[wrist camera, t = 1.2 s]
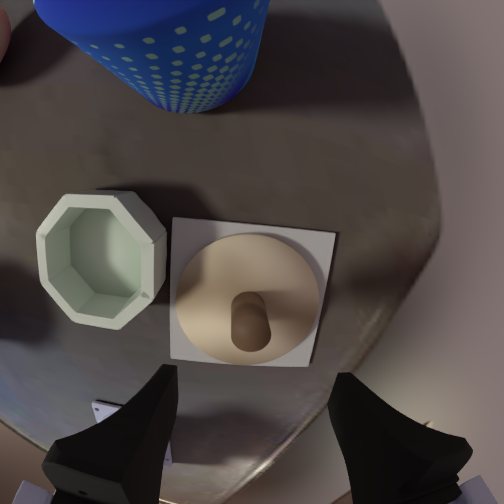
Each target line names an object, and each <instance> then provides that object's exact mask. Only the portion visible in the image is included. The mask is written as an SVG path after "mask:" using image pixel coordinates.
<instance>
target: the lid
mask: <svg viewBox="0 0 504 504" xmlns="http://www.w3.org/2000/svg"><path fill="white" fill-rule="evenodd" d="M175 302H176V312H177V317H178V320H179V322H180V325H181V327H182V329H183V331H184V333H185V334H186V335H187V337H188V338H189V340H190V341H191V342H192V343H193V344H194V345H195V346H196V347H197V348H199V349H200V350H201V351H202V352H204V353H205V354H207V355H209V356H211V357H213V358H215V359H217V360H220V361H223V362H226V363H231V364H237V365H255V364H261V363H266V362H269V361H272V360H275V359H277V358H279V357H282V356H284V355H285V354H287V353H288V352H290V351H291V350H293V349H294V348H295V347H296V346H298V345H299V344H300V343H301V342H302V341H303V339H304V338H305V337H306V336H307V334H308V333H309V331H310V330H311V328H312V326H313V324H314V321H315V319H316V316H317V312H318V306H319V291H318V285H317V282H316V278H315V276H314V274H313V272H312V270H311V268H310V267H309V265H308V264H307V262H306V261H305V259H304V258H303V257H302V256H301V255H300V254H299V253H298V252H297V251H296V250H295V249H294V248H293V247H291V246H290V245H288V244H287V243H285V242H283V241H281V240H279V239H277V238H275V237H272V236H268V235H265V234H259V233H237V234H232V235H228V236H224V237H222V238H219V239H216V240H215V241H213V242H211V243H209V244H207V245H206V246H205V247H203V248H202V249H200V250H199V251H198V252H197V253H196V254H195V255H194V256H193V257H192V259H191V260H190V261H189V262H188V264H187V266H186V267H185V269H184V271H183V273H182V275H181V277H180V280H179V282H178V286H177V290H176V299H175Z"/></svg>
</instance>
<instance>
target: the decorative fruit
mask: <svg viewBox="0 0 504 504" xmlns="http://www.w3.org/2000/svg"><path fill="white" fill-rule="evenodd" d="M10 37H11V26H10V21H9V18H8V15H7V13H6V12H5V10H4V9H3V8H2V7H1V6H0V63H1V61H2V59H3V57H4V55H5V53H6V51H7V48H8V45H9V42H10Z"/></svg>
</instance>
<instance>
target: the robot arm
mask: <svg viewBox="0 0 504 504" xmlns="http://www.w3.org/2000/svg"><path fill="white" fill-rule="evenodd" d="M177 405H178V378H177V366H175V365H167V364H163V365H161V366H160V368H159V369H158V370H157V372H156V373H155V374H154V375H153V376H152V378H151V379H150V380H149V381H148V382H147V383H146V384H145V385H144V386H143V388H142V389H141V390H140V391H139V392H138V393H137V394H136V395H135V396H133V397H132V398H131V399H130V400H129V401H128V402H127V403H126V404H125V405H123V406H122V407H121V406H117V405H112V404H108V403H103V402H99V401H93V402H92V407H93V411H94V414H95V417H96V420H97V424H96V425H94V426H92V427H90V428H88V429H85V430H83V431H81V432H79V433H76V434H74V435H71V436H68V437H65V438H62V439H59V440H55V442H54V444H53V445H52V446H51V448H50V449H49V451H48V453H47V455H46V457H45V459H44V461H43V463H42V469H43V471H44V473H45V475H46V476H47V478H48V479H49V480H50V482H51V483H52V484H53V486H54V487H55V488H56V490H55V493H54V495H53V494H51V493H50V492H48V491H47V490H45V489H43V488H40V487H38V486H36V485H34V484H32V483H30V482H28V481H26V480H23V481H22V483H21V486H20V488H19V490H18V492H17V494H16V496H15V498H14V500H13V503H12V504H159V495H160V486H161V478H162V470H163V465H165V466H171V465H172V456H171V448H170V436H171V433H172V429H173V425H174V422H175V418H176V412H177ZM327 405H328V410H329V415H330V419H331V423H332V426H333V429H334V432H335V435H336V437H337V440H338V443H339V446H340V448H341V451H342V454H343V456H344V460H345V463H346V467H347V471H348V476H349V481H350V486H351V492H352V500H353V504H498V503H497V501H496V500H495V498H494V496H493V495H492V493H491V491H490V490H489V488H488V487H487V485H486V483H485V482H484V480H483V479H482V477H481V476H480V475H478V476H476V477H474V478H472V479H470V480H468V481H466V482H465V483H463V484H462V485H460V486H458V484H457V483H456V482H458V480H459V477H458V476H457V473H458V472H459V471H460V470H461V469H462V468H463V467H464V465H465V464H466V463H467V462H468V460H469V459H470V457H471V456H472V453H473V449H472V448H471V446H470V445H469V444H468V442H467V441H466V439H465V438H462V437H458V436H454V435H449V434H446V433H443V432H440V431H437V430H434V429H431V428H429V427H427V426H424V425H422V424H420V423H418V422H416V421H414V420H412V419H410V418H408V417H407V416H405V415H403V414H402V413H400V412H399V411H397V410H396V409H394V408H393V407H391V406H390V405H388V404H387V403H386V402H385V401H383V400H382V399H381V398H380V397H378V396H377V395H376V394H375V393H374V392H372V391H371V390H370V389H369V388H368V387H367V386H365V385H364V384H363V383H362V382H361V381H359V379H357V378H356V377H355V376H354V375H353V374H351V373H350V372H346V373H338V374H337V377H336V380H335V383H334V386H333V389H332V392H331V395H330V398H329V401H328V404H327Z"/></svg>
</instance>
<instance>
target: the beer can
mask: <svg viewBox="0 0 504 504" xmlns="http://www.w3.org/2000/svg"><path fill="white" fill-rule="evenodd" d="M33 2H34V6H35V9H36V11H37V13H38V15H39V17H40V18H41V19H42V20H43V21H44V22H45V23H46V24H47V25H48V26H49V27H50V28H52V29H53V30H55V31H56V32H57V33H59V34H60V35H62V36H63V37H65V38H66V39H67V40H69V41H70V42H72V43H73V44H74V45H76V46H77V47H79V48H80V49H81V50H83V51H84V52H85V53H87V54H88V55H90V56H91V57H92V58H94V59H95V60H96V61H98V62H99V63H100V64H102V65H103V66H104V67H106V68H107V69H108V70H110V71H111V72H112V73H114V74H115V75H116V76H117V77H119V78H120V79H121V80H123V81H124V82H125V83H127V84H128V85H129V86H130V87H132V88H133V89H134V90H135V91H137V92H138V93H139V94H141V95H142V96H143V97H144V98H146V99H147V100H148V101H149V102H151V103H152V104H154V105H155V106H157V107H159V108H162V109H164V110H167V111H171V112H176V113H197V112H203V111H207V110H210V109H213V108H216V107H218V106H220V105H222V104H224V103H226V102H227V101H229V100H230V99H232V98H233V97H234V96H236V95H237V94H238V93H239V92H240V91H241V90H242V89H243V88H244V86H245V85H246V84H247V82H248V81H249V79H250V77H251V75H252V73H253V71H254V68H255V64H256V59H257V54H258V50H259V45H260V41H261V36H262V32H263V27H264V23H265V19H266V14H267V10H268V6H269V2H270V0H33Z"/></svg>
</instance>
